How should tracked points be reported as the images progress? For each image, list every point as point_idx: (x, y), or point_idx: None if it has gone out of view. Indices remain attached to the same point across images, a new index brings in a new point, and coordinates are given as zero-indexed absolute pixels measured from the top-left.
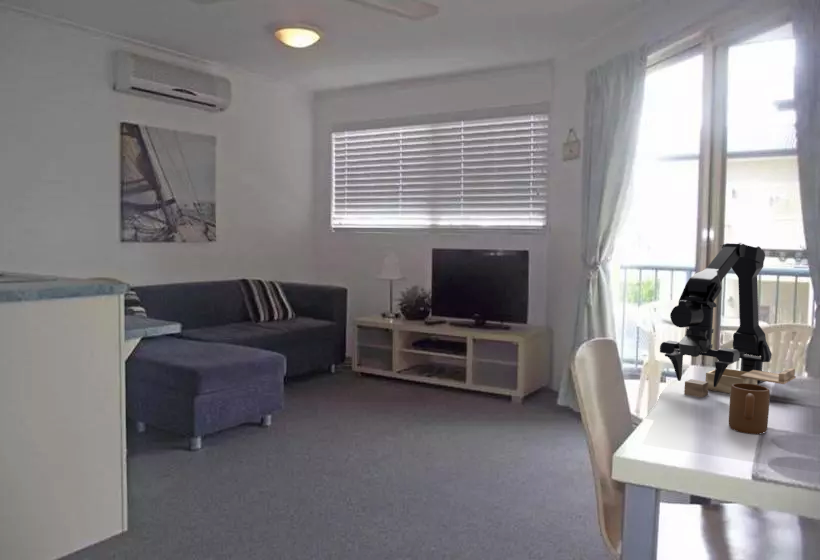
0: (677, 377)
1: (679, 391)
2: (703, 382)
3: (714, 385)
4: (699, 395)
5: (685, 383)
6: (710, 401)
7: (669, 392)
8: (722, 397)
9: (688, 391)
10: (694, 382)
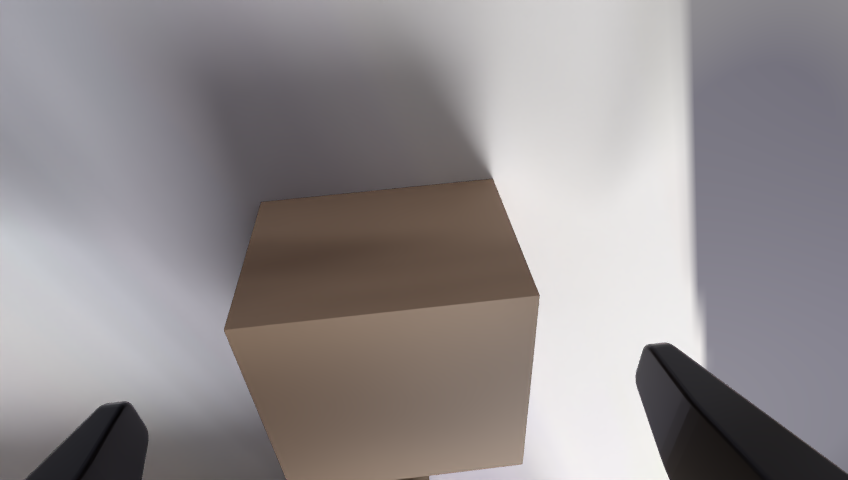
0: (701, 371)
1: (581, 252)
2: (315, 439)
3: (102, 417)
4: (291, 210)
5: (521, 274)
6: (19, 71)
7: (678, 105)
8: (142, 365)
9: (444, 207)
10: (397, 353)
